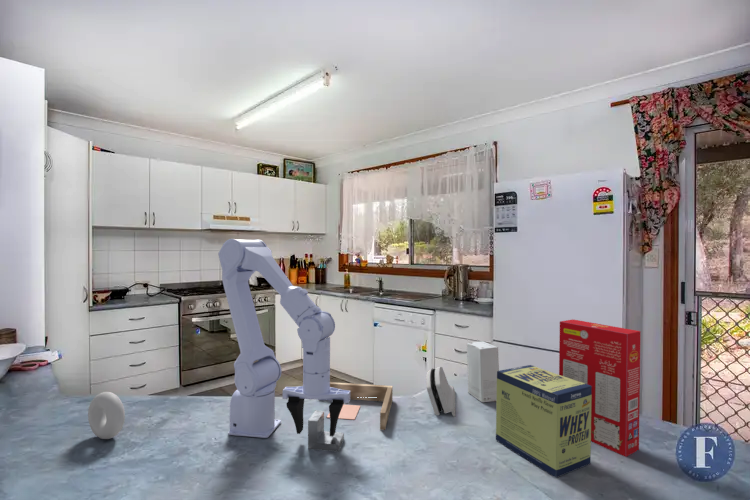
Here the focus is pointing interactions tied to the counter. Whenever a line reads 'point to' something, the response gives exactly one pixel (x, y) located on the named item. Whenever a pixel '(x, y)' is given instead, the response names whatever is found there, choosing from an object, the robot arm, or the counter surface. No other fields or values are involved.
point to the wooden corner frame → (367, 390)
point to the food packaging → (605, 379)
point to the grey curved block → (440, 391)
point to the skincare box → (482, 370)
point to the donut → (106, 415)
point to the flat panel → (348, 412)
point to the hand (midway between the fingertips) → (316, 432)
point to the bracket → (322, 434)
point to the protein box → (544, 418)
